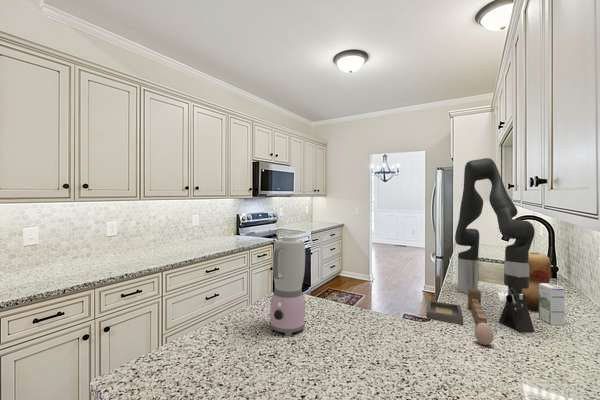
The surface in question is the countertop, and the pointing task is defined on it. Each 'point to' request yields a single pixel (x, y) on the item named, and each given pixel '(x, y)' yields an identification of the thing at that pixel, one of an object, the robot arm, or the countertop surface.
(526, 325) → the phone stand
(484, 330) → the egg
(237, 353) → the countertop surface
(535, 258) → the butternut squash
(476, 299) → the door-edge rail
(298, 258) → the blender
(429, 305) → the silver shallow tray
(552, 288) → the syrup box
